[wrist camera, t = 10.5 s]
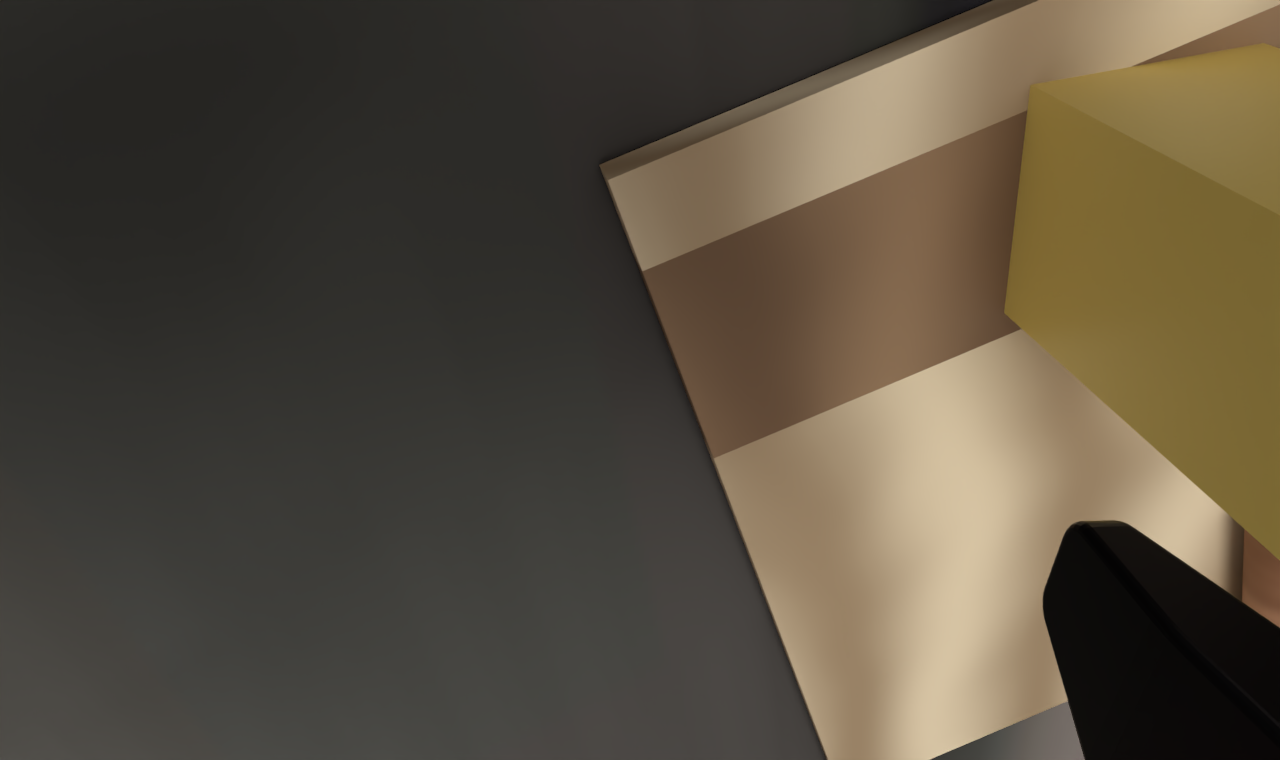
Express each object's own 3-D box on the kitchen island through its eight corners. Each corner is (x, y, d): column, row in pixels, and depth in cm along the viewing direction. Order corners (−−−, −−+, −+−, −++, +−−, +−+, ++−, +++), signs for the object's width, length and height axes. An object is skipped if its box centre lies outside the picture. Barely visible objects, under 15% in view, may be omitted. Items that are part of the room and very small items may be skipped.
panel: (832, 774, 31) (842, 796, 30) (599, 164, 19) (607, 180, 18) (1284, 581, 31) (1304, 600, 30) (1334, -143, 19) (1368, -138, 19)
